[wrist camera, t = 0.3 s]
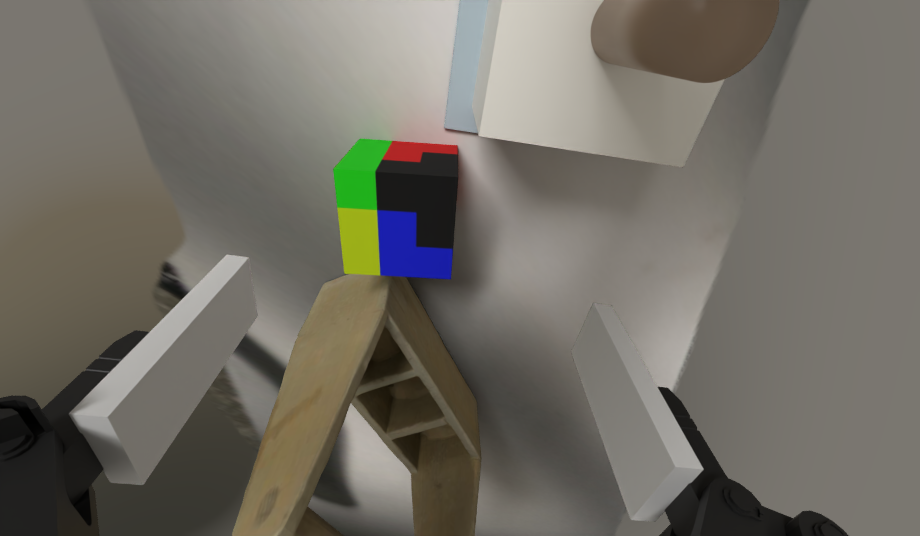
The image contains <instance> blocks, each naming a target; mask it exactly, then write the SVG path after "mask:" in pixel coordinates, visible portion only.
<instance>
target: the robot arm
mask: <svg viewBox="0 0 920 536" xmlns="http://www.w3.org/2000/svg"><path fill="white" fill-rule="evenodd" d="M257 316H258V313H257V307H256V300H255V294H254V287H253V281H252V274H251V268H250V261H249V258H248V257H241V256H233V255H226V256H225V257H224V258H223V259H222V260H221V261H220V262H219V263H218V264H217V265H216V266H215V267H214V268H213V269H212V270H211V271H210V272H209V273H208V274H207V275H206V276H205V277H204V278H203V279H202V280H201V281H200V282H199V283H198V284H197V285H196V286H195V287H194V288H193V289H192V290H191V291H190V292H189V293H188V294H187V295H186V296H185V297H184V298H183V299H182V300H181V301H180V302H179V303H178V304H177V305H176V306H175V307H174V308H173V309H172V310H171V311H170V312H169V313H168V314H167V315H166V316H165V317H164V318H163V319H162V320H161V321H160V322H159V323H158V325H156V326H155V327H154V328H153V329H152V330H151V331H150V332H145V331H134V332H132V333H130V334H128V335H126V336H124V337H123V338H121V339H119V340H117V341H116V342H114V343H113V344H112V345H111V346H110V347H109V348H108V349H106V350H105V351H104V352H103V353H102V354H101V355H100V356H99V359H96V360H95V361H94V362H92V364H90V366H88V367H87V368H86V371H84V372H82V373H81V374H80V375H78V376H77V377H76V378H75V379H74V380H73V381H72V382H71V383H70V384H69V385H68V386H67V387H66V388H65V389H63V390H62V391H61V392H60V393H59V394H58V395H57V396H56V397H55V398H54V399H53V400H52V401H51V402H49V403H48V404H47V405H46V406H45V407H44V408H43V409H41V408H40V406H39V405H38V403H37V402H36V401H35V400H34V399H32V398H30V397H27V396H8V397H3V398H0V536H99V527H98V517H97V508H96V498H95V491H94V489H93V487H92V485H91V484H92V483H93V482H94V480H95V479H96V478H97V477H98V475H99V474H100V473H101V472H102V470H103V471H104V473H105V474H106V476H107V477H108V479H109V481H110V482H111V483H124V484H137V485H143V484H144V483H145V481H146V480H147V478H148V477H149V475H150V474H151V472H152V471H153V470H154V468H155V467H156V465H157V464H158V462H159V461H160V459H161V458H162V456H163V455H164V453H165V452H166V450H167V449H168V447H169V446H170V444H171V443H172V441H173V440H174V439H175V437H176V435H177V434H178V433H179V431H180V430H181V428H182V427H183V425H184V424H185V422H186V421H187V419H188V418H189V416H190V415H191V414H192V412H193V410H194V409H195V408H196V406H197V405H198V403H199V402H200V400H201V399H202V397H203V396H204V394H205V393H206V391H207V390H208V388H209V387H210V386H211V384H212V383H213V381H214V380H215V378H216V377H217V375H218V374H219V372H220V371H221V369H222V368H223V366H224V365H225V363H226V362H227V360H228V359H229V357H230V356H231V355H232V353H233V352H234V350H235V349H236V347H237V346H238V344H239V343H240V341H241V340H242V338H243V337H244V335H245V334H246V332H247V331H248V329H249V328H250V327H251V325H252V324H253V322H254V321H255V319H256V318H257ZM571 354H572V357H573V360H574V362H575V365H576V368H577V371H578V374H579V376H580V379H581V382H582V385H583V388H584V391H585V393H586V396H587V399H588V402H589V405H590V407H591V410H592V413H593V416H594V419H595V421H596V424H597V427H598V430H599V433H600V435H601V438H602V441H603V444H604V447H605V450H606V452H607V455H608V458H609V461H610V464H611V466H612V469H613V472H614V475H615V478H616V480H617V483H618V486H619V489H620V492H621V494H622V497H623V500H624V503H625V506H626V509H627V511H628V514H629V517H630V520H640V521H654V522H655V521H656V520H657V519H658V518H659V517H660V516H661V515H662V514H663V513H664V512H666V514H667V516H668V519H669V521H670V523H671V524H670V525H669V526H668V527H667V528H666V529H665V530H664V532H662V534H660V535H659V536H848V535H847V533H846V532H845V531H844V530H842V529H841V528H840V527H839V526H838V525H837V524H835V523H834V522H833V521H831V520H830V519H828V518H826V517H825V516H823V515H821V514H818V513H816V512H813V511H802V512H801V513H800V514H798V515H797V516H796V517H794V518H791V517H788V516H786V515H783V514H781V513H778V512H776V511H773V510H771V509H768V508H766V507H763V506H761V504H760V502H759V501H758V500H757V499H756V498H755V496H754V495H753V494H752V493H751V492H750V491H749V490H747V489H746V488H745V487H743V486H742V485H741V484H739V483H737V482H735V481H733V480H731V479H728V477H727V476H726V475H725V473H724V471H723V470H722V468H721V467H720V465H719V463H718V461H717V460H716V458H715V456H714V455H713V453H712V451H711V450H710V448H709V447H708V445H707V443H706V442H705V440H704V438H703V437H702V435H701V433H700V432H699V431H697V427H696V425H695V424H694V422H693V420H692V419H690V415H689V413H688V412H687V410H686V408H685V407H684V405H683V404H682V402H681V401H680V400H679V399H678V398H677V397H676V396H675V395H674V394H673V393H672V392H671V391H670V390H669V389H668V388H664V387H657V385H656V384H655V382H654V380H653V378H652V376H651V375H650V373H649V371H648V369H647V368H646V366H645V364H644V362H643V360H642V359H641V357H640V355H639V353H638V351H637V350H636V348H635V346H634V344H633V343H632V341H631V339H630V337H629V335H628V334H627V332H626V330H625V328H624V327H623V325H622V323H621V321H620V319H619V318H618V316H617V314H616V312H615V310H614V309H613V307H612V305H607V304H599V303H593V304H592V307H591V309H590V311H589V313H588V315H587V318H586V320H585V322H584V324H583V326H582V329H581V331H580V333H579V335H578V338H577V340H576V342H575V344H574V346H573V349H572V351H571Z"/></svg>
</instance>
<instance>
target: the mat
mask: <svg viewBox="0 0 920 536" xmlns="http://www.w3.org/2000/svg"><path fill="white" fill-rule="evenodd" d="M487 6H488V0H460V3H459V11H458V19H457V28H456V36H455V44H454V52H453V60H452V68H451V76H450V84H449V92H448V100H447V108H446V116H445V124H444V128H448V129H454V130H461V131H467V132H473V133H478V131H477V126H476V122H475V118H474V114H473V109H472V102H473V95H474V89H475V82H476V76H477V70H478V63H479V57H480V51H481V44H482V38H483V31H484V25H485V19H486V12H487Z"/></svg>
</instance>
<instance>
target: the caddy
mask: <svg viewBox="0 0 920 536" xmlns="http://www.w3.org/2000/svg"><path fill="white" fill-rule="evenodd" d="M350 403H352V405H353V406H354V407H355V408H356V409H357V411H358V412H359V413H360V414H361V415H362V416H363V418H364V419H365V420H366V421H367V422H368V424H369V425H370V426H371V427H372V428H373V429H374V430H375V431H376V433H377V434H378V435H379V437H380V438H381V439H382V441H383V442H384V443H385V444H386V445H387V446H388V448H389V449H390V450H391V451H392V452H393V453H394V455H395V456H396V457H397V458H398V459H399V460H400V461H401V462H402V463H403V464H404V465H405V466H406V467H407V469H408V470H409V472H410V473H411V485H412V503H413V520H414V536H475V524H476V514H477V500H478V491H479V480H480V468H481V448H480V437H479V425H478V413H477V401H476V399H475V397H474V396H473V394H472V392H471V390H470V389H469V387H468V386H467V384H466V382H465V380H464V378H463V377H462V375H461V374H460V372H459V370H458V368H457V366H456V365H455V363H454V361H453V359H452V358H451V356H450V354H449V353H448V351H447V350H446V348H445V346H444V344H443V342H442V340H441V338H440V336H439V335H438V333H437V331H436V329H435V328H434V326H433V324H432V322H431V320H430V318H429V317H428V315H427V313H426V311H425V310H424V308H423V306H422V304H421V302H420V300H419V299H418V297H417V295H416V294H415V292H414V290H413V289H412V287H411V285H410V283H409V282H408V280H407V278H406V277H399V276H380V275H361V274H348V275H345V276H342V277H339V278H337V279H334V280H332V281H329V282H326V283H325V284H324V285H323V286H322V288H321V290H320V292H319V294H318V296H317V298H316V300H315V302H314V304H313V306H312V308H311V310H310V312H309V315H308V317H307V319H306V321H305V323H304V324H303V326H302V328H301V330H300V332H299V334H298V338H297V339H296V341H295V344H294V347H293V350H292V353H291V357H290V360H289V363H288V366H287V368H286V371H285V374H284V378H283V381H282V385H281V388H280V391H279V394H278V397H277V400H276V402H275V405H274V408H273V410H272V413H271V416H270V419H269V422H268V425H267V428H266V431H265V433H264V436H263V439H262V442H261V445H260V448H259V452H258V455H257V459H256V462H255V464H254V468H253V471H252V475H251V478H250V481H249V483H248V486H247V488H246V491H245V495H244V500H243V502H242V506H241V509H240V512H239V515H238V518H237V521H236V524H235V527H234V530H233V533H232V536H344V535H342V534H341V533H340V532H339V531H337V530H336V529H335V528H334V527H332V526H331V525H330V524H329V523H328V522H326V521H325V520H324V519H323V518H321V517H320V516H319V515H318V514H316V513H315V512H314V511H312V510H311V509H310V508H309V507H307V506H308V504H309V502H310V499H311V497H312V495H313V492H314V490H315V488H316V485H317V483H318V480H319V478H320V476H321V473H322V471H323V470H324V468H325V466H326V464H327V462H328V459H329V457H330V454H331V452H332V449H333V447H334V444H335V442H336V439H337V437H338V434H339V432H340V430H341V427H342V425H343V423H344V420H345V417H346V414H347V411H348V408H349V406H350Z"/></svg>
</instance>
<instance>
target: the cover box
mask: <svg viewBox="0 0 920 536" xmlns="http://www.w3.org/2000/svg"><path fill="white" fill-rule="evenodd" d="M778 10H779V0H488V6H487V12H486V19H485V25H484V31H483V38H482V44H481V51H480V57H479V63H478V70H477V76H476V82H475V89H474V95H473V102H472V109H473V114H474V118H475V122H476V126H477V131H478V135H479V136H481V137H488V138H494V139H501V140H507V141H514V142H520V143H527V144H533V145H540V146H546V147H553V148H559V149H566V150H572V151H578V152H585V153H591V154H598V155H604V156H611V157H617V158H624V159H630V160H637V161H643V162H650V163H656V164H663V165H669V166H676V167H682V168H683V167H684V165H685V163H686V161H687V159H688V157H689V154H690V152H691V150H692V148H693V146H694V144H695V142H696V139H697V137H698V135H699V133H700V131H701V129H702V127H703V125H704V122H705V120H706V118H707V116H708V114H709V112H710V110H711V108H712V105H713V103H714V101H715V99H716V97H717V95H718V93H719V91H720V88H721V86H722V84H723V82H724V80H725V79H726V78H728V77H730V76H732V75H734V74H735V73H737V72H738V71H740V70H741V69H743V68H744V67H745V66H746V65H747V64H749V63H750V62H751V61H752V60H753V59H754V58H755V56H756V55H757V54H758V53H759V52H760V50H761V49H762V48H763V46H764V45H765V43H766V42H767V40H768V38H769V36H770V34H771V32H772V30H773V28H774V25H775V22H776V19H777V14H778Z"/></svg>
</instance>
